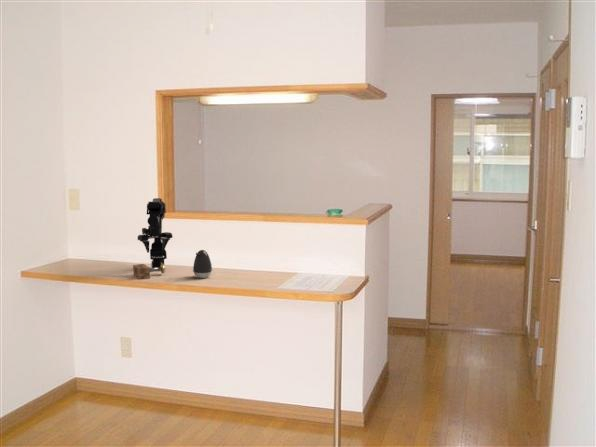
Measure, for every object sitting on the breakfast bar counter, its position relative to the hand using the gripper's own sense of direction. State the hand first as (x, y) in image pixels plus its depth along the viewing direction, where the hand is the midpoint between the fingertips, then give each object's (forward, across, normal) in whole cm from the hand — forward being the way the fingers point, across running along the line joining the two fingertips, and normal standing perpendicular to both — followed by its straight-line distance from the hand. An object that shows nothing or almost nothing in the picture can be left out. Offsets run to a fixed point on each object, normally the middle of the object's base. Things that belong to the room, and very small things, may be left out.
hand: (155, 251), depth 342 cm
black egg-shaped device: (+13, -15, +25) cm, 32 cm away
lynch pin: (+12, +3, +4) cm, 13 cm away
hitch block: (+13, +10, +2) cm, 16 cm away
